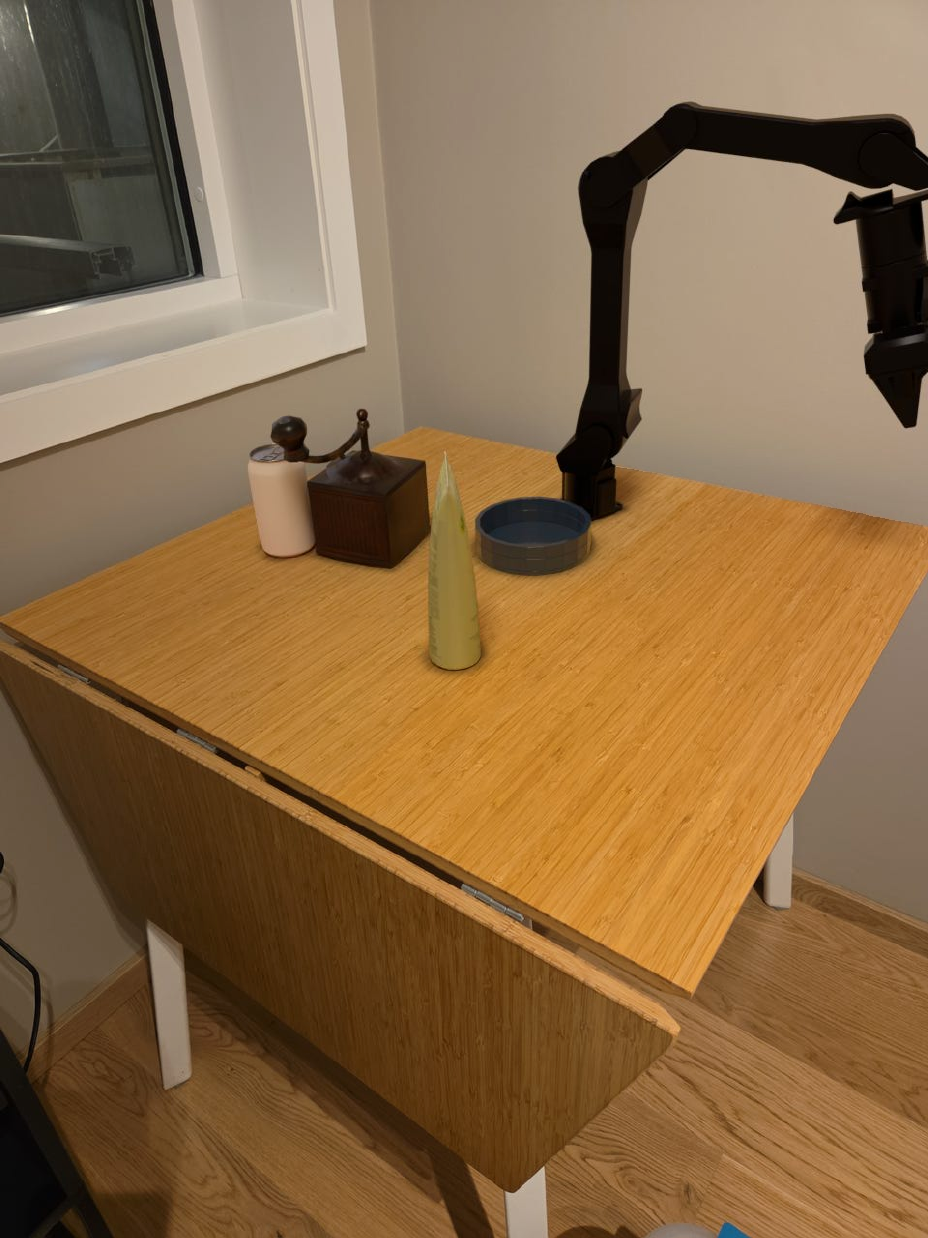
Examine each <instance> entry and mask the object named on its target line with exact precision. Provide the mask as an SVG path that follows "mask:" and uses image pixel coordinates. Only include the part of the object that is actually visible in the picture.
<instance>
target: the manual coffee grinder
mask: <svg viewBox="0 0 928 1238" xmlns="http://www.w3.org/2000/svg"><path fill="white" fill-rule="evenodd" d="M355 415H356V418H357V422H356V429H355V430H354V432H353V433H352V434H351V436H350V437H349V438H348V440H347V441H345V442H344V443H343V444H342V445H341V446H339V447H338V448H337V449H335V450H333V451H332V452H329V453H326V454H321V455H310V451H311V450H310V449H309V447H307V445H306V444H305V440H306V437H307V435H308V424H307V423H306V422H305V421H304V419H302V418H301V417H298V416H293V415H284V416H281V417H279V418H278V419H276V420H275V421H274V422H273V423H272V424H271V432H270V439H271V441H272V443H276V444H277V445H279V446H280V447H282V448H283V449H284V460H286V461H288V462H290V463H295V462H305V464H316V465H319V464H326V466H325V468H324V469H322V470H321V471H320V472H318V473H317V474H316V475H314V476H313V477H311V478H310V479H307V480H308V481H307V487H308V492H309V499H310V506H311V513H312V520H313V527H314V533H315V540H316V543H315V546H316V547H315V553H316V555H317V554H318V555H321V556H323V557H325V558H329V559H332V560H336V561H342V562H347V563H352V564H356V565H361V566H366V567H373V568H374V567H375V568H384V569H393V568H394V567H396V566H397V565H398V564H400V563H401V562H402V561H404V559H406V557H408V556H409V555H410V553H412V552H413V551H414V550H415V549H416V548H417V547H418V545H420V544H421V543H422V542H423V540H424V539H425V538H426V537H427V536H428V535H429V534H430V533H431V527H432V525H431V518H430V517H431V516H430V503H429V489H428V487H429V486H428V476H427V475H428V474H427V473H428V472H427V463H426V460H423V459H416V458H410V457H405V456H404V457H403V456H396V455H390V454H384V453H380V452H376V451H372V450H371V449H370V443H369V429H370V427H371V425H370V421H369V420H368V417H369V412H368V410H367V409H366V408H359V409H357V411H356V412H355ZM359 441H360V449H359V450H353V449H352V450H351V451H350V449H351V448H353V447H354V446H355V445H356V444H357V443H358V442H359ZM348 451H350V452H348ZM347 452H348V453H347Z"/></svg>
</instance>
